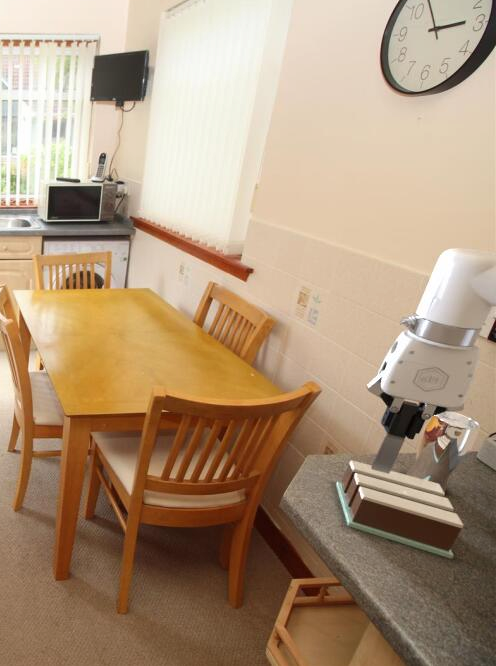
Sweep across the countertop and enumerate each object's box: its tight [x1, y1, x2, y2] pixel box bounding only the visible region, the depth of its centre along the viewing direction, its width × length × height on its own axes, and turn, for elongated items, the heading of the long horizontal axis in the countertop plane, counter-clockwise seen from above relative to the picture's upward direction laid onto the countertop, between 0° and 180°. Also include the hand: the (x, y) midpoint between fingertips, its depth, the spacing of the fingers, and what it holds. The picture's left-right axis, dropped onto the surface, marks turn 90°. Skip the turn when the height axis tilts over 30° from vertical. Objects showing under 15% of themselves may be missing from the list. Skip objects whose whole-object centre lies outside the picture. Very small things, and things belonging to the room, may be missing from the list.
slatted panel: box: [335, 459, 464, 560], centre depth 83 cm, size 14×12×6 cm
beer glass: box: [404, 411, 482, 493], centre depth 90 cm, size 7×7×15 cm
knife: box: [371, 400, 419, 474], centre depth 79 cm, size 2×1×14 cm, turn 64°
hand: (397, 431), depth 79 cm, fingers closed on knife
